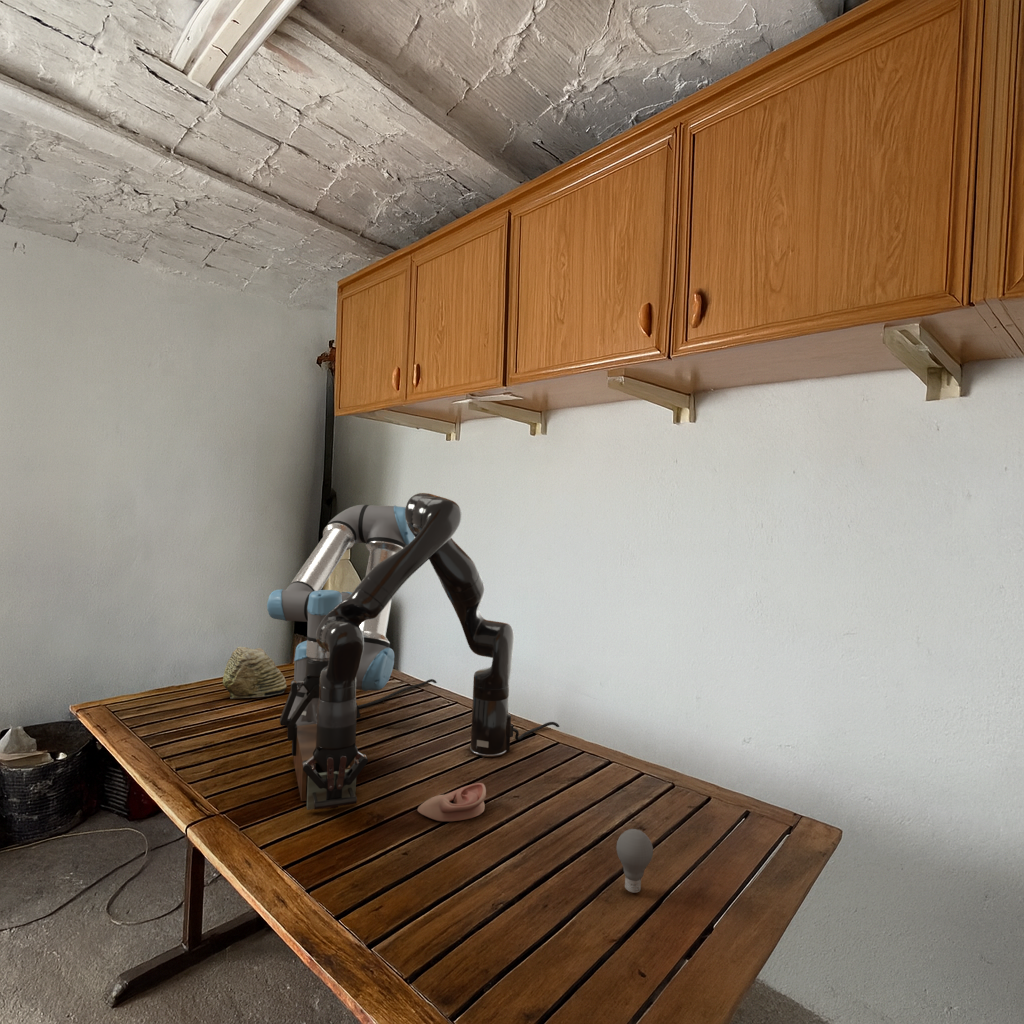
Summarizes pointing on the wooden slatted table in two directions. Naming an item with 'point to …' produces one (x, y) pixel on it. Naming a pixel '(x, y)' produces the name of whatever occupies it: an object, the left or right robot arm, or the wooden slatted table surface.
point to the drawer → (318, 796)
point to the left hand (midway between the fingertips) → (319, 750)
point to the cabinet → (305, 754)
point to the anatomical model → (456, 804)
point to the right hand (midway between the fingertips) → (333, 806)
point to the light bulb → (634, 857)
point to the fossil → (252, 674)
